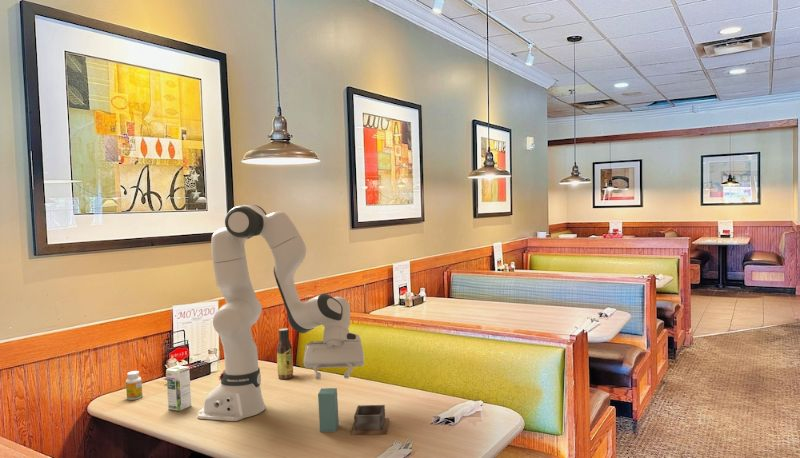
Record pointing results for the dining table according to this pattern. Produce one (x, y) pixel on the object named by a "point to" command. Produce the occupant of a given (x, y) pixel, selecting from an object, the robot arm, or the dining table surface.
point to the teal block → (328, 409)
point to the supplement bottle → (133, 385)
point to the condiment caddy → (370, 420)
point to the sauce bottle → (284, 355)
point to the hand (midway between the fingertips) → (332, 378)
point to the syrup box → (178, 388)
